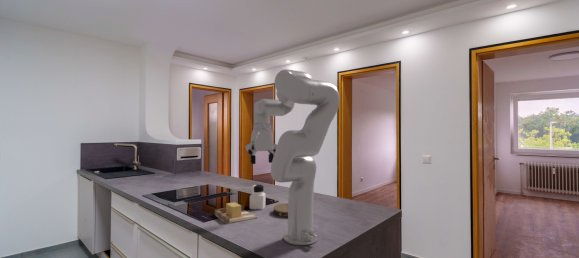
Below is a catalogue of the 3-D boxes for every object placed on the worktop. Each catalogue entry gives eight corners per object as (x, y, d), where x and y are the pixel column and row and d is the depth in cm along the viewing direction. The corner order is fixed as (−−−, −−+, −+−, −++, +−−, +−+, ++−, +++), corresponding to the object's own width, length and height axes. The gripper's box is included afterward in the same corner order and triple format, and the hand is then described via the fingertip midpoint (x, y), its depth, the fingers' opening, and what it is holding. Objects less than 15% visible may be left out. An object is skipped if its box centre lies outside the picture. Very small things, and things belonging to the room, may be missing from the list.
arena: (257, 218, 128) (257, 212, 128) (226, 224, 119) (226, 218, 119) (242, 209, 141) (242, 205, 141) (214, 214, 133) (214, 209, 133)
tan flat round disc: (311, 215, 134) (311, 209, 134) (283, 220, 126) (283, 213, 126) (294, 207, 147) (294, 201, 147) (268, 211, 139) (268, 205, 139)
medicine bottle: (265, 206, 149) (265, 183, 149) (262, 209, 142) (263, 186, 142) (252, 205, 150) (252, 183, 150) (249, 209, 142) (249, 186, 143)
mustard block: (234, 212, 135) (234, 202, 135) (241, 216, 129) (241, 205, 129) (226, 213, 132) (226, 203, 132) (232, 217, 126) (232, 207, 126)
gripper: (273, 128, 139) (273, 161, 138) (242, 127, 129) (242, 163, 128) (281, 127, 133) (281, 162, 132) (249, 126, 123) (249, 164, 122)
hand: (262, 163), depth 130 cm, fingers open, 9 cm apart
